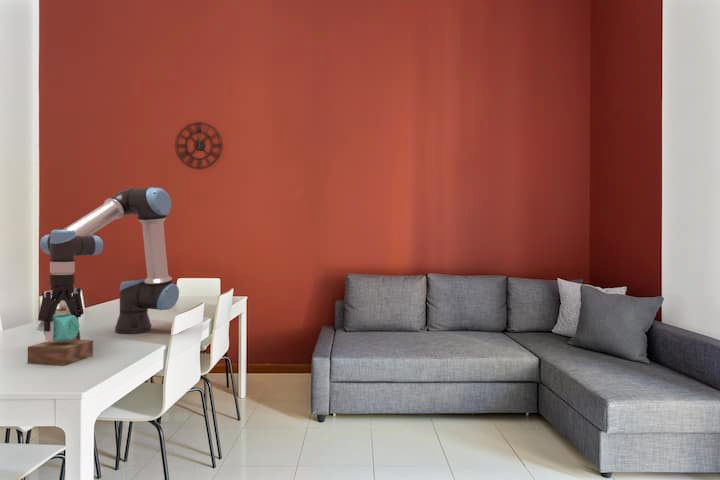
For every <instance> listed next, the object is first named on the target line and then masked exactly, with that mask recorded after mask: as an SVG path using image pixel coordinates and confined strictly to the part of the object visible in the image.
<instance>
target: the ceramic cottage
mask: <svg viewBox="0 0 720 480" xmlns="http://www.w3.org/2000/svg"><path fill="white" fill-rule="evenodd" d="M58 307H59V308H57V309H56V311H55V313H54V315H62V314H70V315H71V313H70V311H69V309H68V306H67V304H66V302H65V301H64V300H63V301H61V302H60V303H59V304H58ZM43 326H44V322H43V321H39V324H38V325H37V331H43Z"/></svg>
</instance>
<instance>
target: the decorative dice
mask: <svg viewBox="0 0 720 480" xmlns="http://www.w3.org/2000/svg"><path fill="white" fill-rule="evenodd" d="M51 322H54V327H53V341H66V340H71V339H73V338H74V337H75V336H76V335H77V333H78V331H80V321H79V318H78V319H77V318H76V317H75V316H74V315H70V314H62V315H54V316H53V318H52V320H51ZM43 334H44V336H45V331H44V326H43Z"/></svg>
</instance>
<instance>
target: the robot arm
mask: <svg viewBox="0 0 720 480" xmlns="http://www.w3.org/2000/svg"><path fill="white" fill-rule="evenodd" d="M171 209H172V201H171V197H170V195H169V194H168V192H166V190H164V189H163V188H161V187H130V188H125V189H122V191H119V192H116V194H114V195H112V196H110V197H108V198H106V199H105V200H104V202H103V204H101V205H100V206H98V207H97V208H95V209H93V210H92V211H91V212H89V213H87V214H85V215H84V216H82V217H80V218H79V219H78V220H76V221H74V222H73V223H71V224H70V225H68V226H67V227H66V226H65V227H64V228H63V229H52V230H51V231H50V234H45V235H44V236H42V237H41V239H40V241H39V247H40V250H41V251H42V252H43V253H44V254H46V255H49V259H50V260H49V273H50V275H49V285H50V289H49V290H47V291H44V290H42V292H41V297H42V299H41V303H40V308H39V309H40V310H39V312H38V313H39V314H38V318H37V319H38V321H39V322H40V321H43V322H44V331H45V335H44V337H45V338H44V339H45V342H47V341H53V327H54V322H51V320H52V318H53V316H54V313H55V311H56V309H58V307H59V303H60V302H61V301H63V300H64V301H65V302H66V304H67V306H68V309H69V311H70V313H71V315H74V316H75V317H76V318H77V319H78V320H79V318H81V317H82V315H84V308H83V307H84V306H83V302H82V301H83V300H82V296H81V295H82V294H81V291H82V288H80V287H74V285H75V283H76V282H75V274H74V273H75V272H76V271H75V270H76V269H75V267H76V264H75V263H76V260H75V259H76V257H83V256H84V257H86V256H90V257H93V256H96V255H97V256H98V255H99V254H101V253H102V251H104V241H103V239H102V238H101V237H99V236H98V235H94V234H95V233H96V232H98V231H99V230H101V229H102V228H104V227H106V226H107V225H109V224H110V223H111V222H113V221H114V220H120V219H122V218H123V217H126V216H130V215H133V216H134V215H137V221H139V222H140V223H141V226H142V236H143V245H144V256H145V266H146V276H147V277H146V278H145V279H135V280H126V281H122V282H121V283H120V284H119V285H120V286H119V316H118V318H117V321H116V325H115V326H114V332H115V333H117V334H122V335H123V334H128V335H129V334H130V335H132V334H142V333H147V332H151V331H152V323H151V320H150V317H149V314H148V311H149V310H159V311H165V310H166V311H167V310H171V309H172V308H173V307H175V306H176V304H177V302H178V300H179V297H180V289H179V287H178V285H177V284H175V283H173V278H172V276H170V275H169V271H168V259H167V247H166V238H165V237H166V236H165V227H164V222H165V220H166V219H167V215H168V214H169V213H170V212H171ZM76 336H77V335H76Z"/></svg>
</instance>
